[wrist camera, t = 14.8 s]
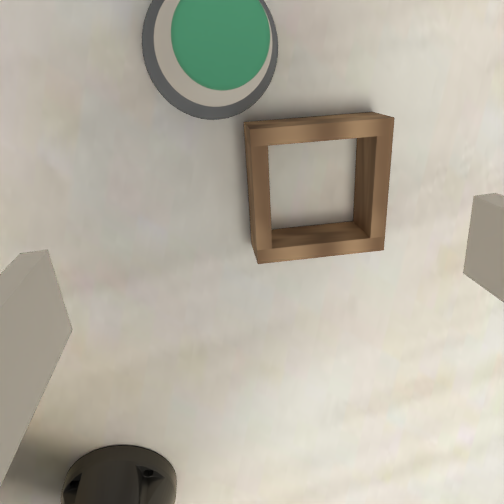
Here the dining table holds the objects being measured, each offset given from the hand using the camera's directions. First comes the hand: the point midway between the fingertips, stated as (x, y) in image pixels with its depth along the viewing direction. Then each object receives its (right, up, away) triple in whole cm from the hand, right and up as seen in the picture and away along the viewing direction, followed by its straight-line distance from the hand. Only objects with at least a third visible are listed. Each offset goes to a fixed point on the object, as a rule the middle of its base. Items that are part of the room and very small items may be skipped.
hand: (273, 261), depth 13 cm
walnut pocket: (+5, +8, +31) cm, 32 cm away
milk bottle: (-5, +18, +24) cm, 31 cm away
